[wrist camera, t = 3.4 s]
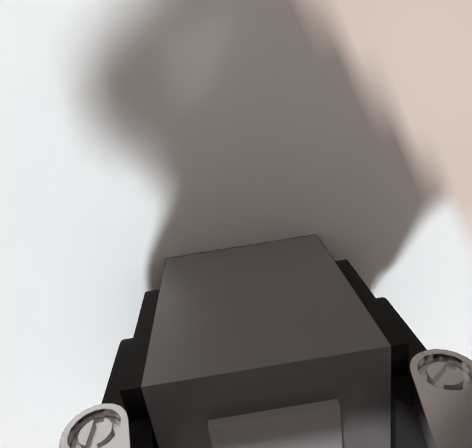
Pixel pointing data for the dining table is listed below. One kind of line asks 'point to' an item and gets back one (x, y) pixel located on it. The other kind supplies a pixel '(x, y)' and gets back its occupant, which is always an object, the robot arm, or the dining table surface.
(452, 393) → the robot arm
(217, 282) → the plug
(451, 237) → the dining table surface
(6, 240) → the dining table surface
